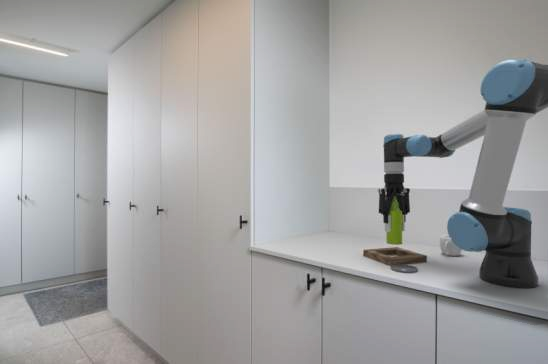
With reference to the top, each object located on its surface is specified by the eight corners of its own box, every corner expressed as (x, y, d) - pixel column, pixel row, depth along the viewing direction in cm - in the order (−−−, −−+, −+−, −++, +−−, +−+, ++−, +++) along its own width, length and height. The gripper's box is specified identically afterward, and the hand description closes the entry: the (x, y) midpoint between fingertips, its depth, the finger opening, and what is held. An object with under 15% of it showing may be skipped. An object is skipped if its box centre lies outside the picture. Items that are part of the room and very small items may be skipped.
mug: (443, 251, 144) (443, 234, 144) (465, 254, 139) (465, 236, 139) (434, 256, 136) (434, 237, 136) (457, 259, 130) (457, 240, 130)
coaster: (423, 271, 113) (423, 269, 113) (402, 274, 110) (402, 272, 110) (405, 265, 122) (405, 263, 122) (385, 267, 119) (385, 265, 119)
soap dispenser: (406, 244, 127) (405, 193, 128) (387, 244, 129) (387, 193, 129) (403, 242, 133) (402, 193, 134) (385, 242, 135) (385, 193, 135)
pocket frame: (426, 262, 126) (426, 255, 126) (390, 265, 121) (390, 259, 121) (396, 252, 142) (396, 247, 142) (363, 255, 137) (363, 249, 137)
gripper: (406, 173, 138) (407, 228, 138) (368, 173, 132) (369, 231, 131) (419, 173, 131) (420, 231, 131) (380, 172, 125) (380, 233, 124)
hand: (394, 231), depth 131 cm, fingers closed on soap dispenser, 6 cm apart
